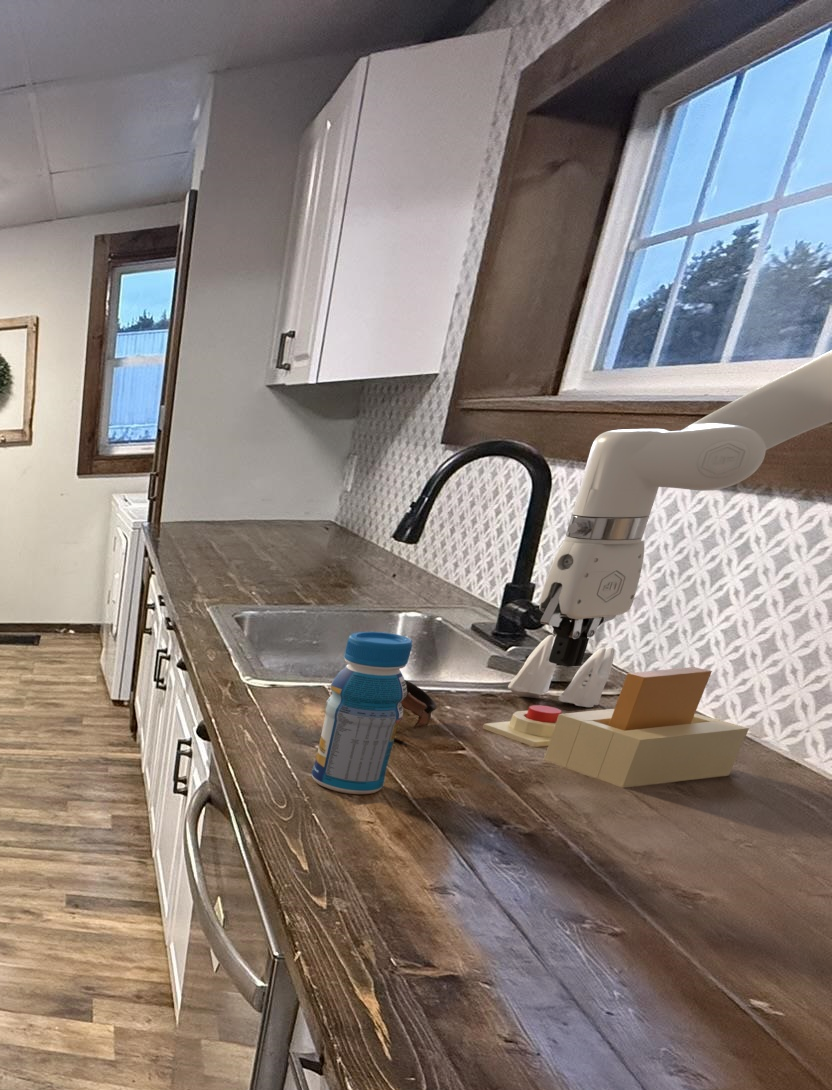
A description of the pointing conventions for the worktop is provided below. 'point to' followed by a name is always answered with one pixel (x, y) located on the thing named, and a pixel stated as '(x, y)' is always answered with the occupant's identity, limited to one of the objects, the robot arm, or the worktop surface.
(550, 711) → the pop button
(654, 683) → the toast
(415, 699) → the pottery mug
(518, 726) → the button block
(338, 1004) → the worktop surface
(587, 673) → the shaker set
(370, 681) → the beverage bottle
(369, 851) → the worktop surface
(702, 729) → the toaster
